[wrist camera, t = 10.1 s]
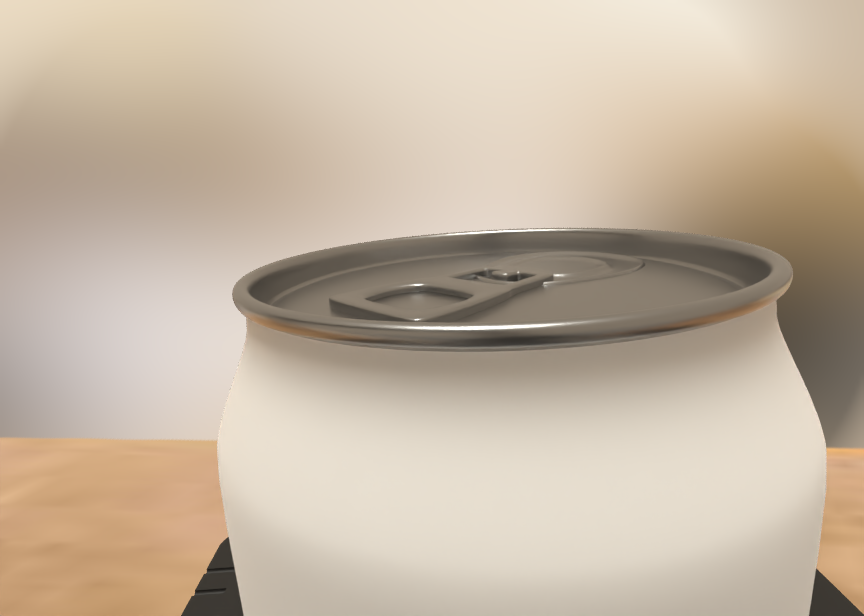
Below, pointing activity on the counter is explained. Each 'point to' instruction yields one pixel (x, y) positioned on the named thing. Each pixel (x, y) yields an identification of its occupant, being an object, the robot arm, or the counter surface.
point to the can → (522, 430)
